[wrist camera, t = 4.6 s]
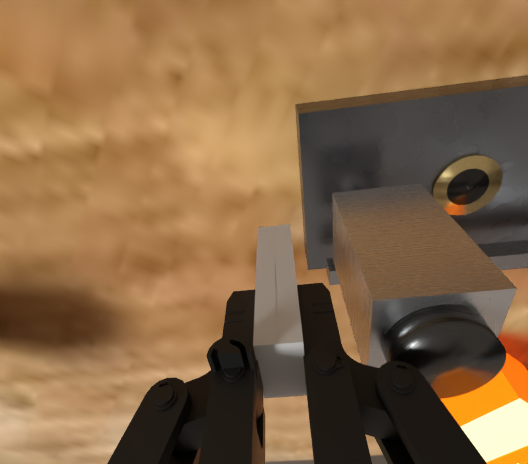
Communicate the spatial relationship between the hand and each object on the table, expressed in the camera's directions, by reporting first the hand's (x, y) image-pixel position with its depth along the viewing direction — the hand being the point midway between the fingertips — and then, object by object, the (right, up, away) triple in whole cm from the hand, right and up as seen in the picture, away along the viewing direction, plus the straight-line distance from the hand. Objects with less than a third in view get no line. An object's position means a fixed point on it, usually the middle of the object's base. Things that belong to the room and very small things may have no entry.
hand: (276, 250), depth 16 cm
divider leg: (+5, +3, +3) cm, 6 cm away
